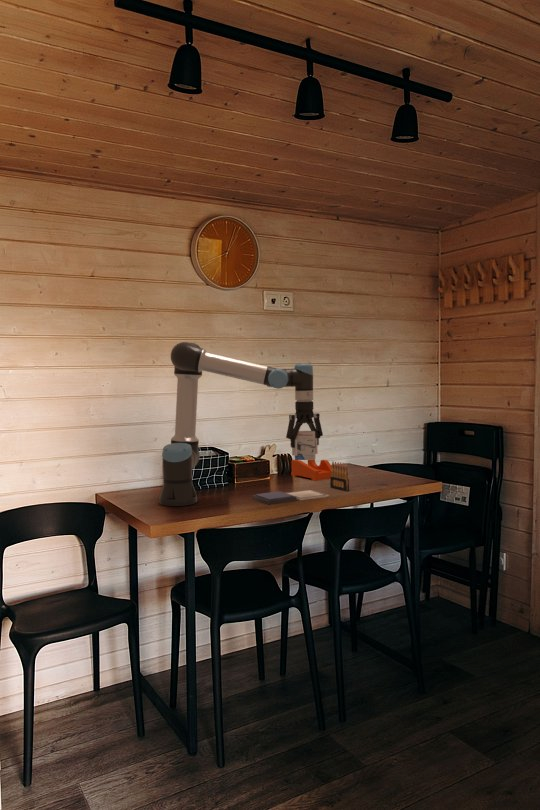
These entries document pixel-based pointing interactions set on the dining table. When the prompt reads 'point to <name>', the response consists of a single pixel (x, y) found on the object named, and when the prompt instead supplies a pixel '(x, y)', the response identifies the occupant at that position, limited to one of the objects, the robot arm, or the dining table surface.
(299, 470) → the tape dispenser
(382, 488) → the dining table surface
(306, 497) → the board
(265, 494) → the pad
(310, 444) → the ink box
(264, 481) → the dining table surface
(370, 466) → the dining table surface
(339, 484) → the ammunition clip
